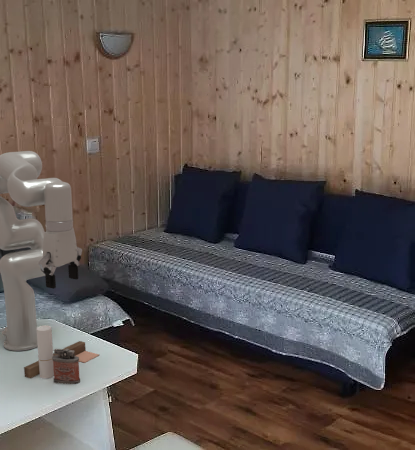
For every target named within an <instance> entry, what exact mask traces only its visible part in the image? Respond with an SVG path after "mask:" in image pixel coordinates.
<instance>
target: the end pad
mask: <svg viewBox="0 0 415 450" xmlns="http://www.w3.org/2000/svg"><path fill="white" fill-rule="evenodd" d="M76 356H77V357H79V363H84V364H86V363H88V362H90V361H91V360H93V359H95V358H97V357H99V356H100V354H99V353H95V352H91V351H87V350H86V351H84V352H82V353H80V354H78V355H76Z"/></svg>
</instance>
